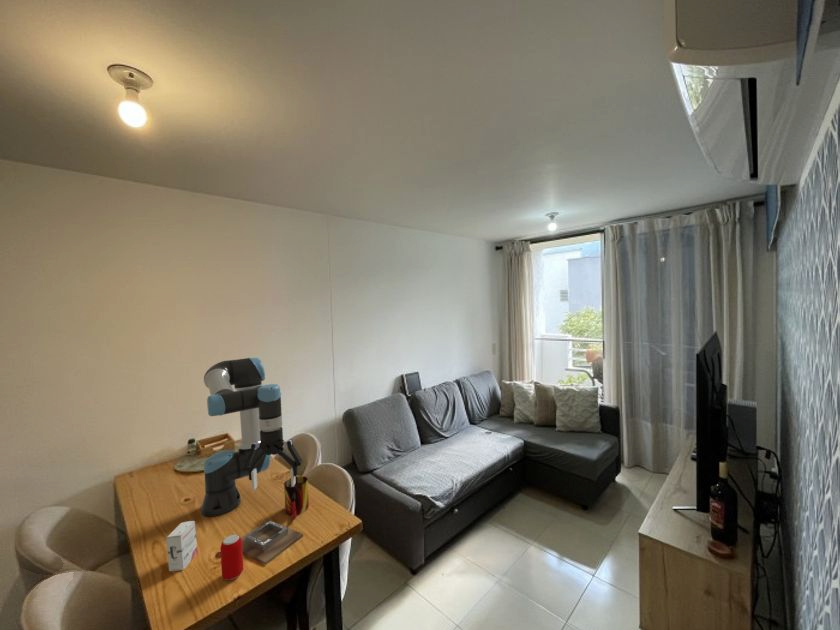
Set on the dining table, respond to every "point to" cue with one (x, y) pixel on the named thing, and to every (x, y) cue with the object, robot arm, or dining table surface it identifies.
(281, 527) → the steel collar
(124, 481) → the dining table surface
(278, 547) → the walnut plate
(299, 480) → the mug
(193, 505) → the dining table surface
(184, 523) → the ink box
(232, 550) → the beverage can
